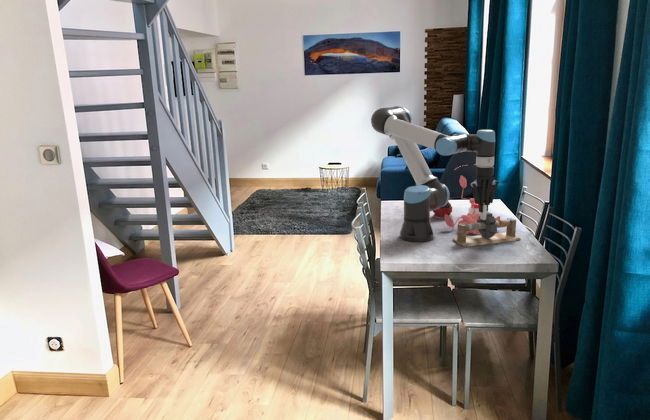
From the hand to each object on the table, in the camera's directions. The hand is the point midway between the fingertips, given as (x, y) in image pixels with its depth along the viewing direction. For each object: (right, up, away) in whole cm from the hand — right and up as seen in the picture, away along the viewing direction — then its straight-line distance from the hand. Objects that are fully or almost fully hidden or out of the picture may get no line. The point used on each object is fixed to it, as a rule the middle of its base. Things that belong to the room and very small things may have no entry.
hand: (483, 219), depth 232 cm
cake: (-8, 0, +44) cm, 45 cm away
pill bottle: (+5, -4, +27) cm, 28 cm away
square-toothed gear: (+2, -8, +3) cm, 9 cm away
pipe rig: (+2, -10, +3) cm, 10 cm away
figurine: (+5, +23, +30) cm, 37 cm away
